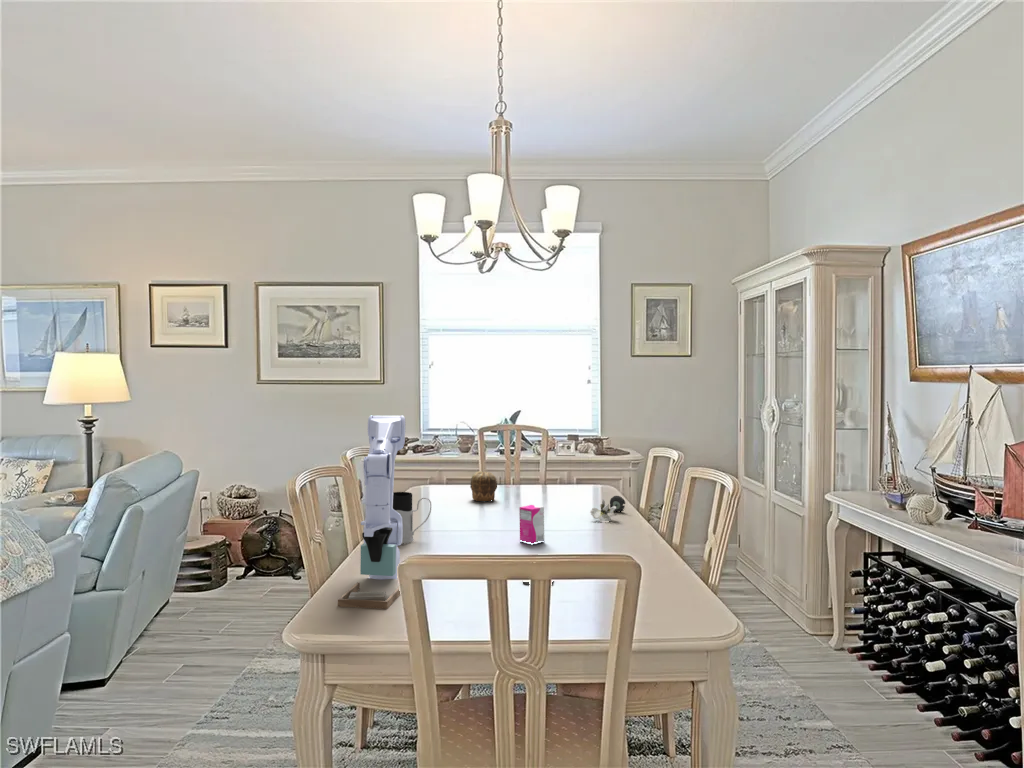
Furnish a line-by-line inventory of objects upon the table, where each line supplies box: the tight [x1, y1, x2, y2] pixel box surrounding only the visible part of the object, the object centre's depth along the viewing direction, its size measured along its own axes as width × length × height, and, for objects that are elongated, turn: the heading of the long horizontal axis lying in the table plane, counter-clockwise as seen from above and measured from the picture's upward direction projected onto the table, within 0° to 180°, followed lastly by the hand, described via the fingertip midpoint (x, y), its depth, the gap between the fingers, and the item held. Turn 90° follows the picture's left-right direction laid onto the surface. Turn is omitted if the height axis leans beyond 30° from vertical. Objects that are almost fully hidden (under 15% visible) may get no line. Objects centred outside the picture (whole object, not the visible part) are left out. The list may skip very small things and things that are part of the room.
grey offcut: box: [349, 591, 387, 601], centre depth 177 cm, size 4×8×2 cm, turn 93°
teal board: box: [359, 542, 396, 576], centre depth 185 cm, size 2×8×7 cm, turn 83°
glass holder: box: [393, 491, 432, 545], centre depth 244 cm, size 9×14×15 cm, turn 95°
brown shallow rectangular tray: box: [337, 581, 401, 610], centre depth 180 cm, size 14×12×3 cm
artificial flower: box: [589, 495, 626, 523], centre depth 283 cm, size 9×22×10 cm, turn 150°
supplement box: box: [518, 504, 545, 543], centre depth 243 cm, size 6×6×12 cm
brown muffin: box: [469, 471, 498, 502], centre depth 314 cm, size 11×11×12 cm
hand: (377, 559), depth 185 cm, fingers closed on teal board, 2 cm apart
